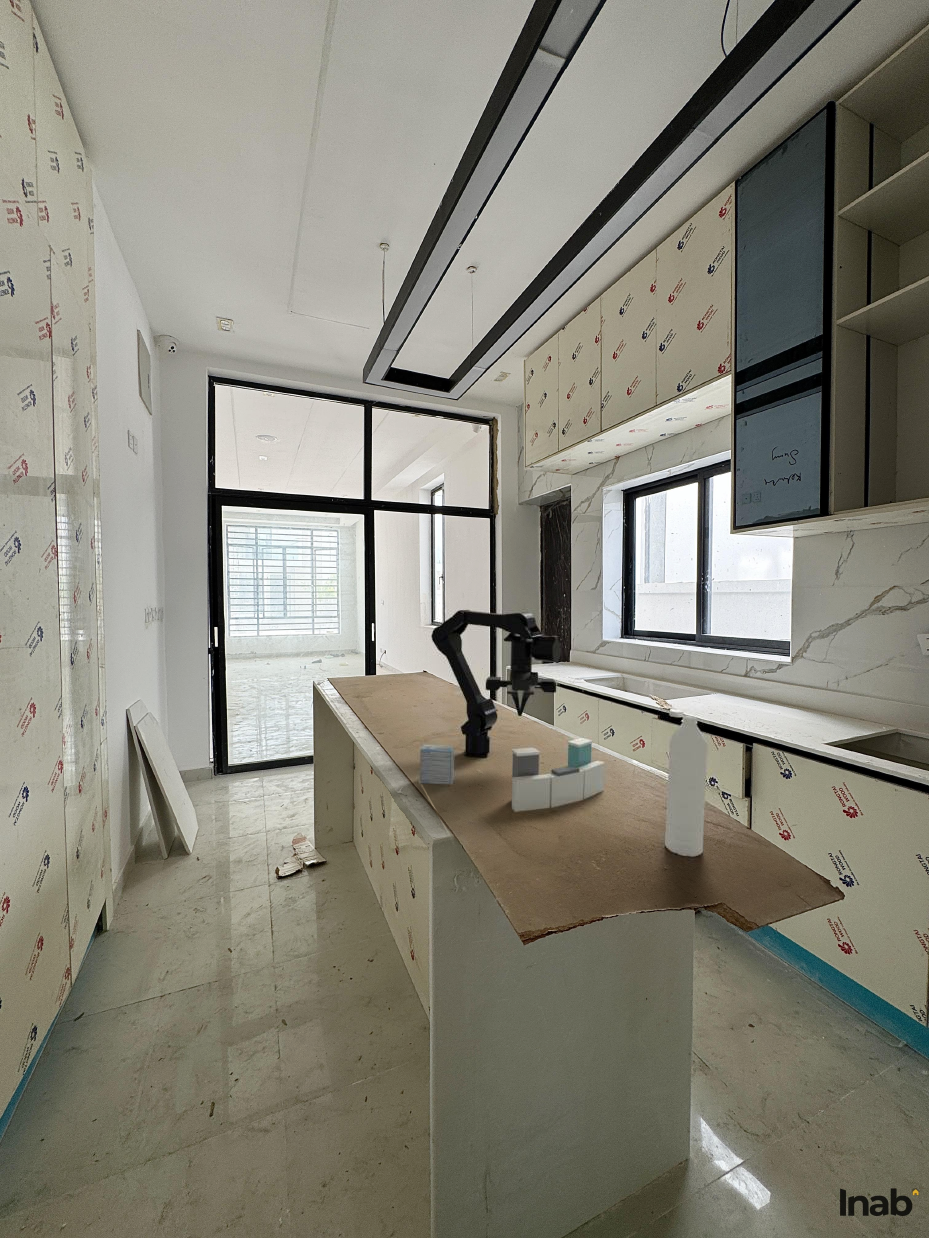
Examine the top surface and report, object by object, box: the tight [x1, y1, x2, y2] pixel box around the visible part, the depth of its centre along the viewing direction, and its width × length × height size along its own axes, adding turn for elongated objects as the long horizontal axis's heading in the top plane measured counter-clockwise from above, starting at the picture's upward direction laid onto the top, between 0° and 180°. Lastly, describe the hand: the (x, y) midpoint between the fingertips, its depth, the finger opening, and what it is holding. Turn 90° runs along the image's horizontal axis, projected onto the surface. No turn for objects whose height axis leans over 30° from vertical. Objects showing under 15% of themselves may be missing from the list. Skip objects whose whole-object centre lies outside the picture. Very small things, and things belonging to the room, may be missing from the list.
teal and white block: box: [567, 737, 593, 768], centre depth 124 cm, size 3×5×12 cm, turn 133°
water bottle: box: [664, 708, 708, 858], centre depth 98 cm, size 9×6×25 cm
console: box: [511, 760, 606, 813], centre depth 118 cm, size 26×4×8 cm, turn 120°
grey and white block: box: [511, 747, 541, 777], centre depth 117 cm, size 3×5×12 cm, turn 106°
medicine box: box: [419, 744, 455, 786], centre depth 128 cm, size 8×4×9 cm, turn 84°
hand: (519, 715), depth 143 cm, fingers closed
